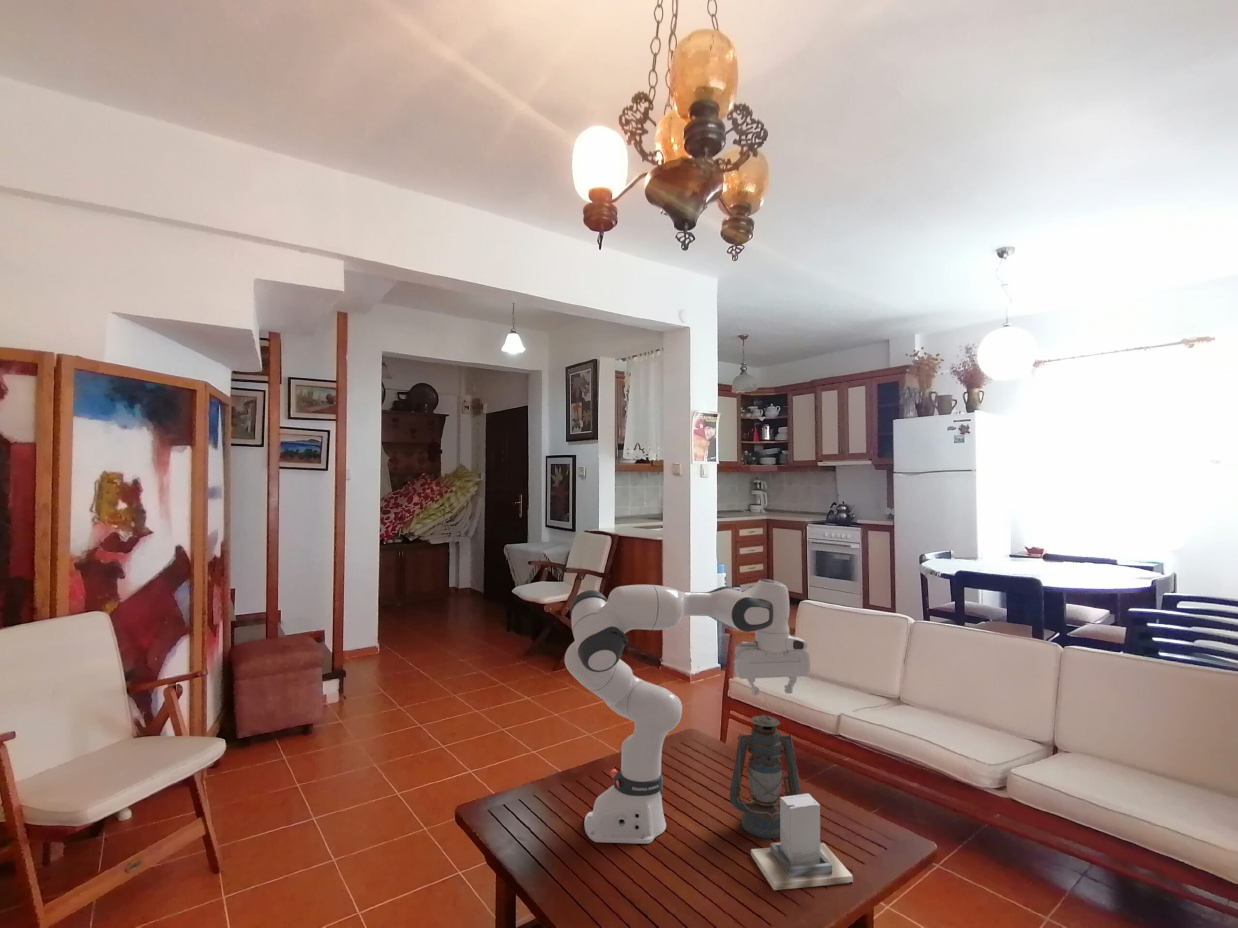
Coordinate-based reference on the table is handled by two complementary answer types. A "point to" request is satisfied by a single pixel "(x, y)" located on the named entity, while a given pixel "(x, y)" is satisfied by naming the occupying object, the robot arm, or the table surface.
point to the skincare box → (800, 829)
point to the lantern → (764, 776)
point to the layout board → (799, 869)
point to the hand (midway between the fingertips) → (771, 693)
